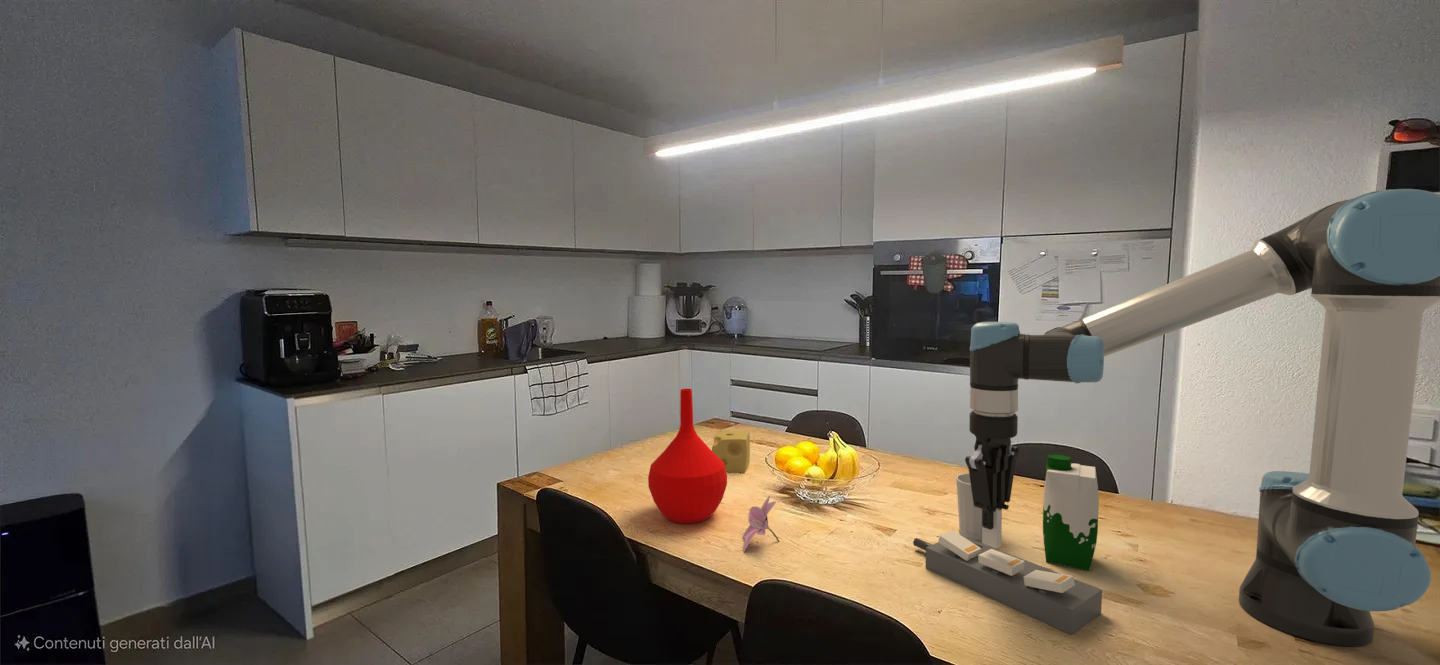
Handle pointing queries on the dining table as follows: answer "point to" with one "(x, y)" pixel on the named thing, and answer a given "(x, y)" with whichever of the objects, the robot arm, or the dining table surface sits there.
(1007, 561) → the rocker
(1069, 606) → the power strip
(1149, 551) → the dining table surface
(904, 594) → the dining table surface
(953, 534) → the rocker
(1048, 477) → the milk carton
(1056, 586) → the rocker
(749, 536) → the lily
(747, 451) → the cheese
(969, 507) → the cup
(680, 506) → the vase
